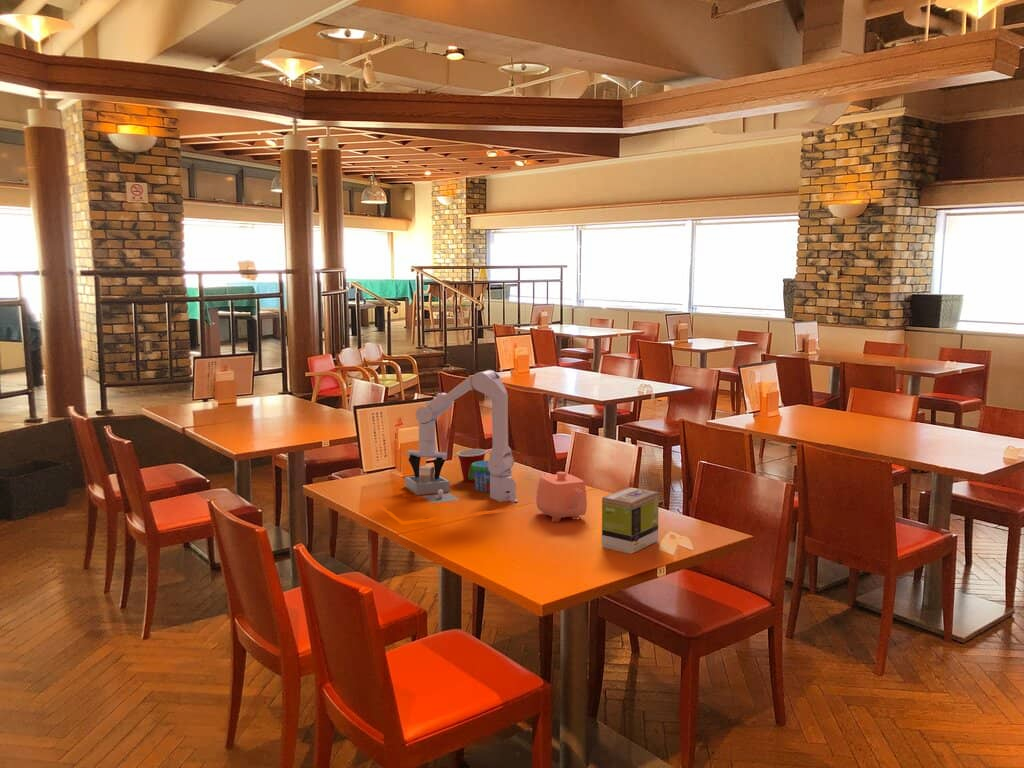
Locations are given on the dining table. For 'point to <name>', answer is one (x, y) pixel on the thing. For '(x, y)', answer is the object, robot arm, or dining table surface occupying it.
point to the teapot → (561, 496)
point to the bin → (426, 485)
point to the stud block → (440, 497)
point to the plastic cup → (470, 461)
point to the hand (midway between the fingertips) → (427, 477)
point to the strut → (426, 474)
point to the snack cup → (480, 475)
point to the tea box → (629, 520)
